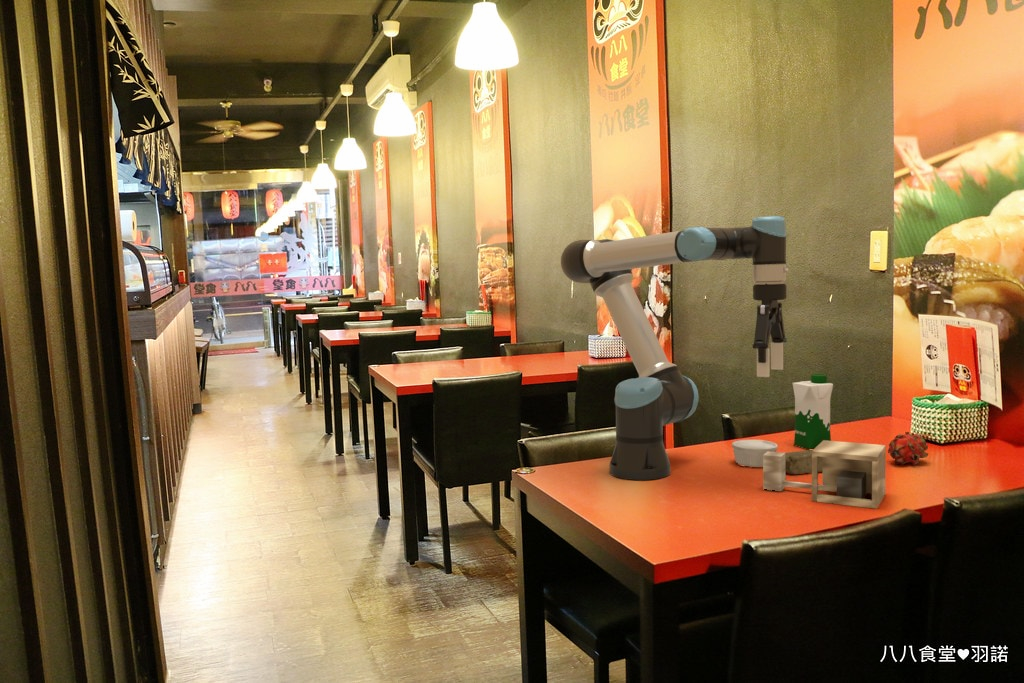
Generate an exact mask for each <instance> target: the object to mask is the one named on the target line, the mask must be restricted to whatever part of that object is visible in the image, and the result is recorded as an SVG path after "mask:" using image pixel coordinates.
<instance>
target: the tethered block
mask: <svg viewBox="0 0 1024 683" xmlns="http://www.w3.org/2000/svg"><path fill="white" fill-rule="evenodd" d="M785 453H786V452H779V451H776V452H769V451H768V452H766V453H765V454H764V455H763V468H762V482H763V483H762V486H763V487H762V490H764V489H767V490H766V491H772V490H775V491H774V492H782V491H783V490H784V489H785V488H786V487H789V488H795V489H797V488H798V489H806V490H807V489H808V490H812V482H800V481H789V480H786V473H785ZM818 491H825V492H834V493H836V496H842V497H851V498H860V499H865V498H866V496H867V493H866V473H865V472H855V471H845V470H842V471H841V472H840V473H839V474H838V476H837V486H829V485H822V484H819V483H818Z"/></svg>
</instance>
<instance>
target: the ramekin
mask: <svg viewBox="0 0 1024 683" xmlns="http://www.w3.org/2000/svg"><path fill="white" fill-rule="evenodd" d="M731 447H732V449H733V454H734V460H735V462H736V463H738V464H737V465H739V464H740V465H739V466H741V465H744V466H743V467H745V466H751V467H750V468H752V467H763V455H764V454H765V453H766V452H768V451H769V452H778V451H777V450H778V447H779V446H778V444H777V443H776V442H773V441H768V440H763V439H740V440H736V441H733V442H732V444H731Z"/></svg>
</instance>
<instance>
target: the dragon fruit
mask: <svg viewBox="0 0 1024 683" xmlns="http://www.w3.org/2000/svg"><path fill="white" fill-rule="evenodd" d="M928 449H929V446H928V444H927V442H926V440H925V438H923V437H922V436H921V434H919V433H914V435H913V434H912V433H910V432H909V431H905V433H904V434H900V433H899V434H897V435H896V436H895V437H893V439H892V440H891V441H890V442H889V444H888V449H887V453H888V454H889V455H890V457H891V459H893V460H894V461H895V462H894V464H895V465H902V466H903V465H905V464H907V463H911V465H912V466H916V465H918V464H919V463H920V459H924V458H927V457H928V456H929V453H928V452H926V451H927V450H928Z"/></svg>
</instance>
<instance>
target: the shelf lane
mask: <svg viewBox="0 0 1024 683" xmlns="http://www.w3.org/2000/svg"><path fill="white" fill-rule="evenodd" d="M886 447H887V446H886V444H874V443H864V442H849V441H836V440H831V441H827V440H823V441H822V442H821V443H820V444H819V445H818V446H817V447H816V448H815V449H814V450H813V451H812V473H811V484H812V489H811V502H815V501H817V502H818V503H826V504H832V503H833V504H834V505H842V506H850V507H859V508H865V509H866V508H867V509H868V508H869V509H876V510H877V509H878V508H879V506H880V505H879V504H881V503H882V502H883V499H884V497H885V496H886V466H887V465H886V454H887V453H886V452H887V450H886V449H887V448H886ZM818 456H820V457H823V471H822V472H821V473H822V476H821V477H822V480H821V482H822V484H821V485H829V486H837V476H838V474H839V473H840V472H841V471H842V470H845V471H855V472H865V473H866V494H867V493H871V494H870V495H871V499H867V498H864V499H860V498H851V497H842V496H837V495H833V494H831V495H830V494H825V493H819V492H818V491H819V490H818V484H819V482H818V480H819V478H818V477H819V472H818ZM884 495H885V496H884ZM817 502H816V503H817Z"/></svg>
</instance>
